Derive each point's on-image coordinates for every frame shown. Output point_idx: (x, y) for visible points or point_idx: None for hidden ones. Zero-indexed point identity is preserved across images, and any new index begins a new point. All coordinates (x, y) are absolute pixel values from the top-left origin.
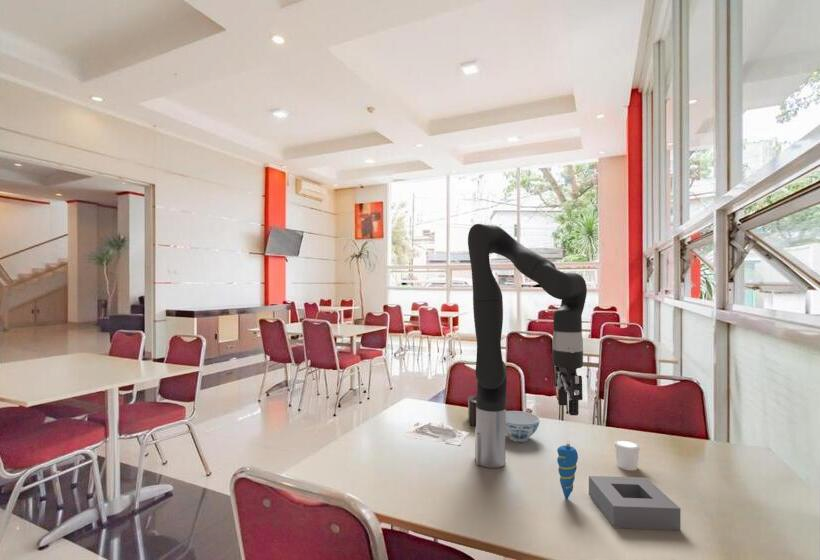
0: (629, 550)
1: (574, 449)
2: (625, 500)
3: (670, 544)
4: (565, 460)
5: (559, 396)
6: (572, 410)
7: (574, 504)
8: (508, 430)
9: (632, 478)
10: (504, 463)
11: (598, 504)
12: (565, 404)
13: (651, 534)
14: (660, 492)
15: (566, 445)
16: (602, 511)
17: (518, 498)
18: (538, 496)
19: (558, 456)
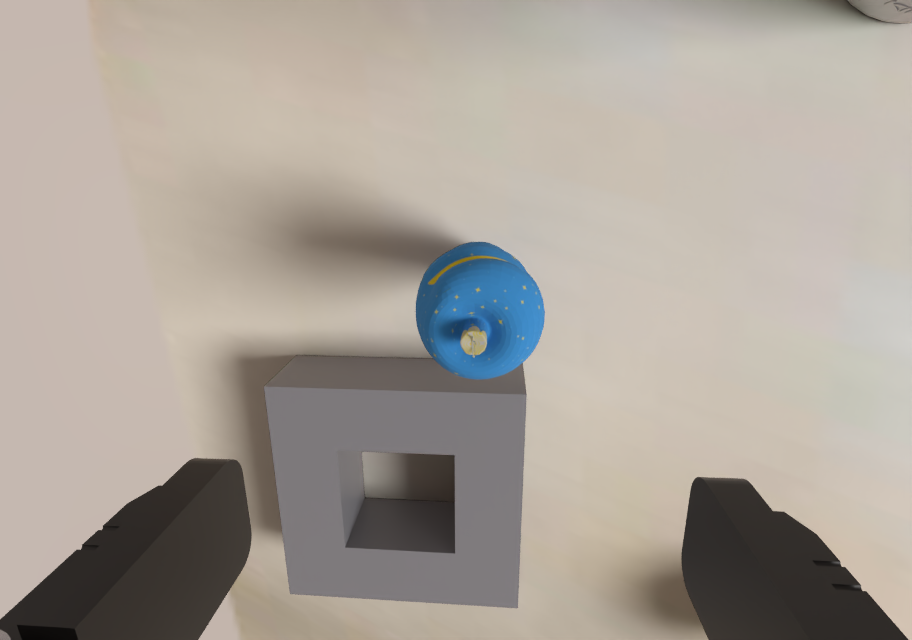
0: (181, 349)
1: (453, 367)
2: (315, 448)
3: None
4: (422, 281)
5: (765, 587)
6: (113, 522)
7: None
8: None
9: (508, 557)
10: (865, 7)
11: (421, 362)
12: (686, 563)
13: None
14: (396, 593)
15: (474, 327)
16: (386, 359)
17: (473, 26)
18: (497, 135)
19: (493, 258)
